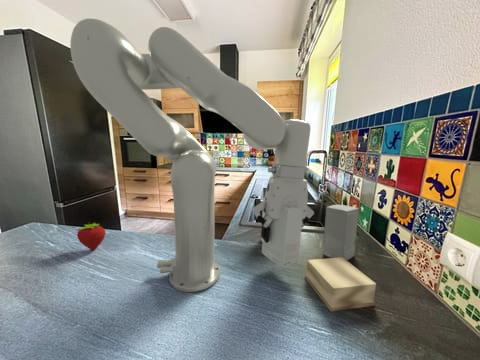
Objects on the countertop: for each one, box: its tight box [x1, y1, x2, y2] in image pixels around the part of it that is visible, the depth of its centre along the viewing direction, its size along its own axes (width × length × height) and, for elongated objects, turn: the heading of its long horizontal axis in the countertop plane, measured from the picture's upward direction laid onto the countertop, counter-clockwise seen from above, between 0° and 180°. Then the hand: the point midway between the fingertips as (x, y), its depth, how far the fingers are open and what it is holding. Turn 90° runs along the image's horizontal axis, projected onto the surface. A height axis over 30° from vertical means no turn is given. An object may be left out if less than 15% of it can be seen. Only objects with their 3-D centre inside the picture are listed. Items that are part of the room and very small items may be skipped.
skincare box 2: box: [322, 203, 359, 261], centre depth 58 cm, size 8×7×16 cm
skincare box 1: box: [261, 207, 302, 269], centre depth 48 cm, size 8×6×15 cm
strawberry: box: [76, 222, 107, 251], centre depth 57 cm, size 6×8×10 cm
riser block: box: [304, 257, 377, 312], centre depth 44 cm, size 10×10×5 cm
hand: (280, 239), depth 48 cm, fingers closed on skincare box 1, 7 cm apart
